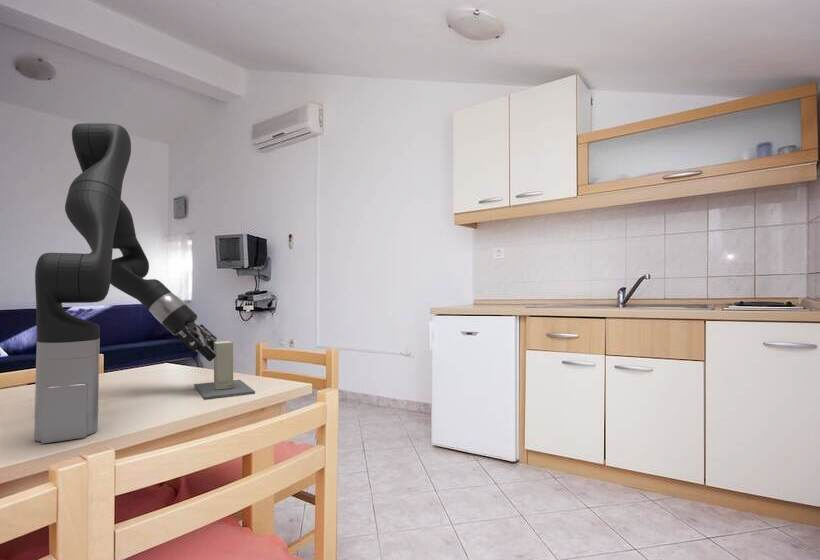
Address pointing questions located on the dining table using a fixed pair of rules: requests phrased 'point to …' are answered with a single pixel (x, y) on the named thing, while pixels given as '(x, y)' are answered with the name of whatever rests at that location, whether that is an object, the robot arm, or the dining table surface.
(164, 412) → the dining table surface
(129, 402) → the dining table surface
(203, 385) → the mat
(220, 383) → the skincare box
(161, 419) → the dining table surface
